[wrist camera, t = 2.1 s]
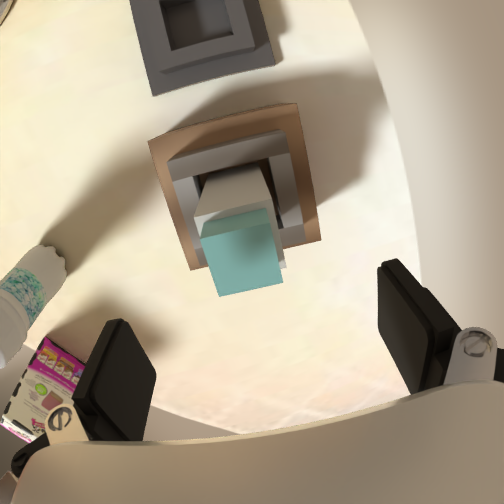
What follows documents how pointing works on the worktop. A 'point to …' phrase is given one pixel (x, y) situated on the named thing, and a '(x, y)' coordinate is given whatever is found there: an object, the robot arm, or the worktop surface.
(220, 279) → the plug
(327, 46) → the worktop surface
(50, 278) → the bottle
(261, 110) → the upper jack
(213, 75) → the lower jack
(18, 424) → the candy bar box
